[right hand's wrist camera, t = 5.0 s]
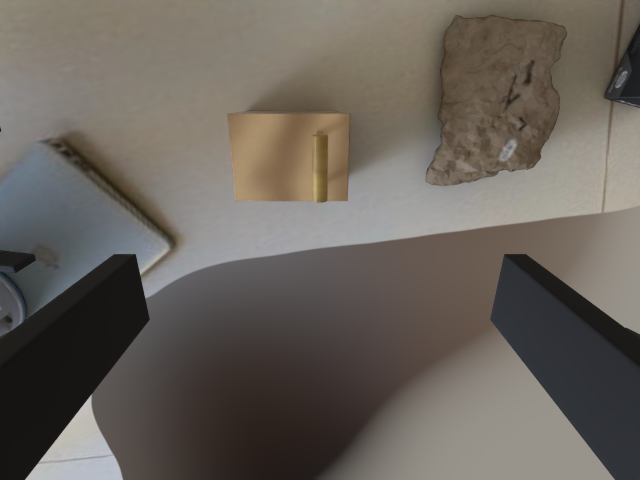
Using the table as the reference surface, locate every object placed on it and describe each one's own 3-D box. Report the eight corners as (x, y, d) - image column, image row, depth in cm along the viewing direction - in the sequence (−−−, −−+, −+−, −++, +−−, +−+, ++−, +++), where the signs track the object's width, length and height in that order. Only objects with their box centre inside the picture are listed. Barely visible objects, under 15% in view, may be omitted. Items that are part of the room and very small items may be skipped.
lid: (349, 113, 40) (356, 116, 32) (347, 199, 43) (352, 219, 36) (229, 113, 40) (209, 116, 32) (237, 199, 43) (220, 219, 36)
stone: (532, 190, 49) (549, 193, 44) (423, 184, 52) (426, 186, 47) (561, 26, 45) (585, 5, 39) (441, 29, 48) (446, 10, 42)
